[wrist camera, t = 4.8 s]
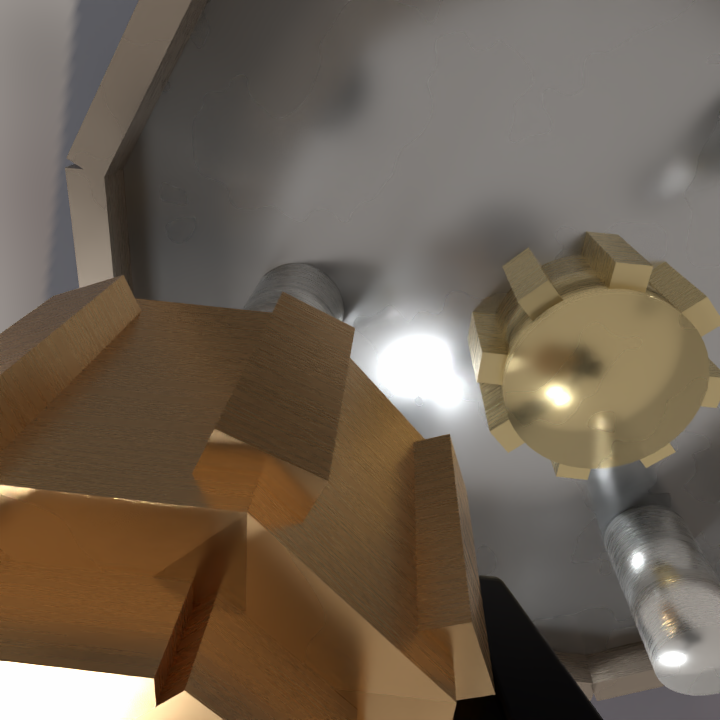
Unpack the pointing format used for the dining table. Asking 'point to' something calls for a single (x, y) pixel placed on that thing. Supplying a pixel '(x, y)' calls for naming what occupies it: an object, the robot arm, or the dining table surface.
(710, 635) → the carrier
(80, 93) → the dining table surface
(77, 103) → the dining table surface
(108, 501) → the planet gear
